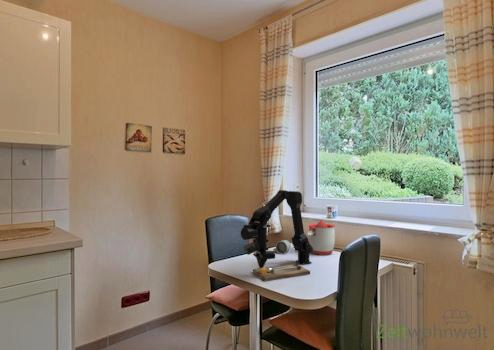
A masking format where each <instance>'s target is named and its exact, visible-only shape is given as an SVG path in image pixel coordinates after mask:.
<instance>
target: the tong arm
mask: <svg viewBox="0 0 494 350" xmlns="http://www.w3.org/2000/svg"><path fill="white" fill-rule="evenodd" d="M298 265H299V264H296V263H295V265H289V266H282V267H275V268H266V269H267V273H271V272H273V269H279V268H286V267H294V266H298Z"/></svg>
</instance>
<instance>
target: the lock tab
mask: <svg viewBox="0 0 494 350" xmlns="http://www.w3.org/2000/svg"><path fill="white" fill-rule="evenodd" d="M260 273H261V274H267V269H266V268H265V267H263V268H260Z"/></svg>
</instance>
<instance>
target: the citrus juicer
mask: <svg viewBox="0 0 494 350" xmlns="http://www.w3.org/2000/svg"><path fill="white" fill-rule="evenodd" d="M335 234H336V233H335V225H334V224H332V223H326V222H325V221H324V220H320V221H319V222H318V223H316V222H315V223H310V224H308V232H307V235H308V237H309V238H308V241H309V244H310V245H311V246H312V248H313V250H312V252H311V253H313V254H317V255H320V256H323V255H325V256H326V255H331V254H332V253H333V251H334V247H335V239H336V237H335Z"/></svg>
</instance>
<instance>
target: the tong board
mask: <svg viewBox="0 0 494 350" xmlns="http://www.w3.org/2000/svg"><path fill="white" fill-rule="evenodd" d="M295 264H296V263H295V262H294V263H289V264H280V265H273V266H265V267H264V268H275V267H282V266H289V265H295ZM297 265H298V266H294V267H286V268H279V269H273V272H271V273H267V274H261V273H260V269H259V267H257V268H253V269H252V272H253V274H255V275H257V277H259V278H260V279H262V280H263V281H265V282H269V281H274V280H281V279H288V278H295V277H301V276H307V275H311V271H310V270H309V269H307V268H305V267H303V266H302V265H299V264H297Z"/></svg>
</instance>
